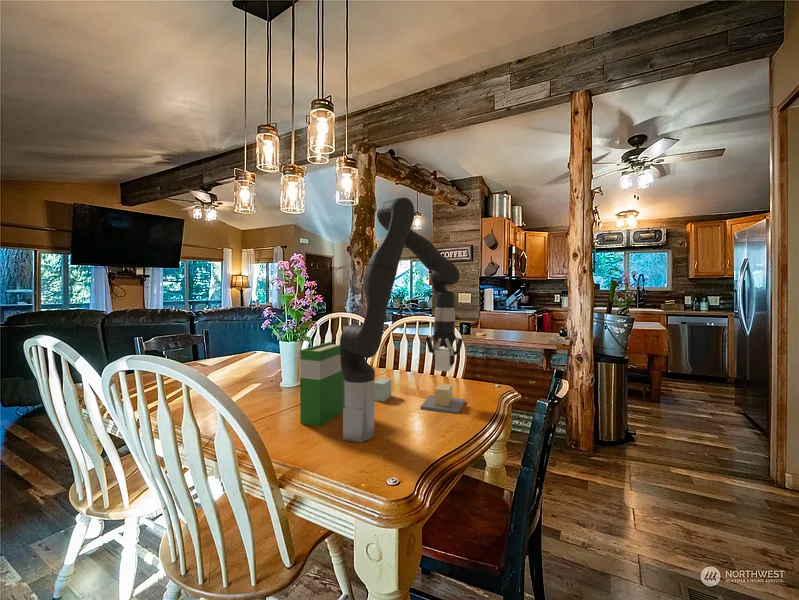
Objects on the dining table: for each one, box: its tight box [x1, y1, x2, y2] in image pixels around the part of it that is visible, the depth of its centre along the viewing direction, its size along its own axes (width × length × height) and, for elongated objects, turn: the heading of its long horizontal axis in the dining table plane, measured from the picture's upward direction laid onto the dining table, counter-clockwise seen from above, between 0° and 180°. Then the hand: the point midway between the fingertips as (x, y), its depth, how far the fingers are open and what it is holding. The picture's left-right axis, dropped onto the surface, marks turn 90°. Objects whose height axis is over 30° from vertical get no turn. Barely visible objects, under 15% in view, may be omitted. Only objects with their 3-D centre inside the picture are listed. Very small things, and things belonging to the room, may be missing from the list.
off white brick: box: [434, 347, 454, 372], centre depth 138 cm, size 8×5×7 cm, turn 161°
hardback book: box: [299, 341, 344, 427], centre depth 126 cm, size 18×7×24 cm, turn 159°
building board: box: [420, 383, 466, 415], centre depth 138 cm, size 14×14×7 cm
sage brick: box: [375, 377, 392, 403], centre depth 147 cm, size 8×5×7 cm, turn 161°
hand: (444, 364), depth 138 cm, fingers closed on off white brick, 5 cm apart
